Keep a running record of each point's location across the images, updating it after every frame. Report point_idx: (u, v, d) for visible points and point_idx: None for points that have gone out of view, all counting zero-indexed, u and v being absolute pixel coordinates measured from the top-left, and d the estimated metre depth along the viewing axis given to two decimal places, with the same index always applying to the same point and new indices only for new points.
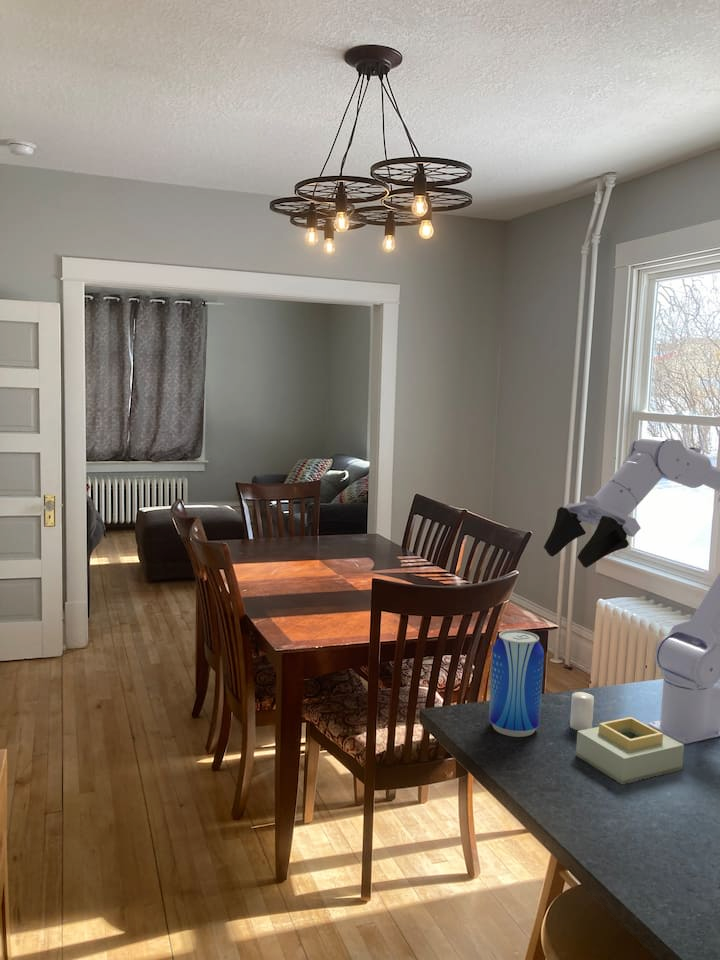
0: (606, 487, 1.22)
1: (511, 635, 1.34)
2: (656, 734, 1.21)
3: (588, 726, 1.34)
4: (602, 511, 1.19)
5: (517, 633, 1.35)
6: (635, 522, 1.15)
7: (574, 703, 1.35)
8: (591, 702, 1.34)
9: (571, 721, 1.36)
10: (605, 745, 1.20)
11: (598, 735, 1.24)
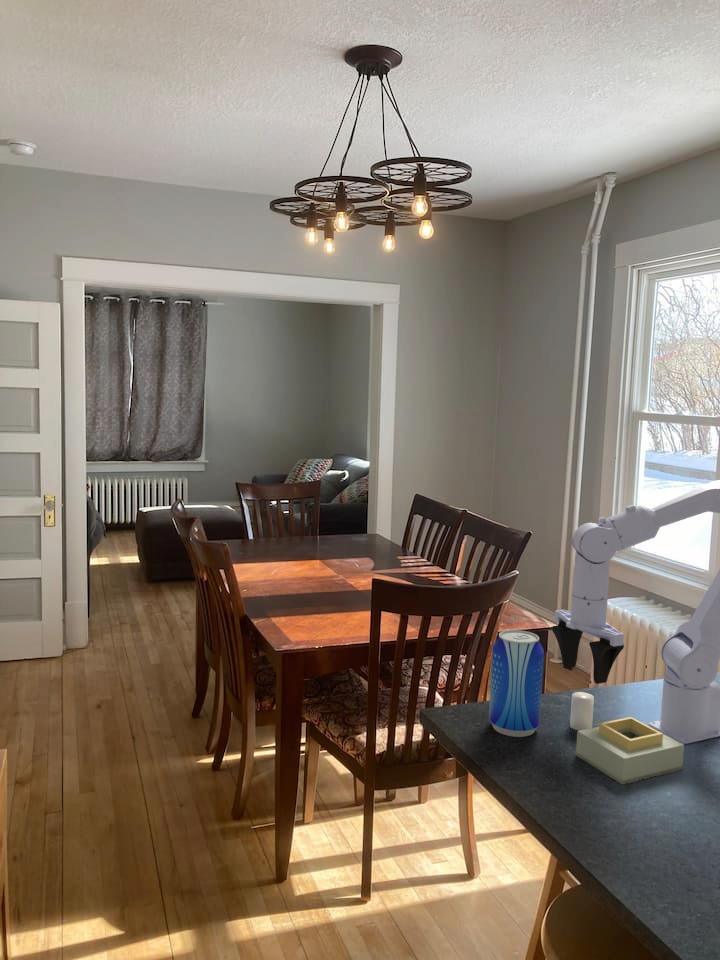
0: (575, 605, 1.32)
1: (511, 635, 1.34)
2: (656, 734, 1.21)
3: (588, 726, 1.34)
4: None
5: (517, 633, 1.35)
6: (617, 636, 1.27)
7: (574, 703, 1.35)
8: (591, 702, 1.34)
9: (571, 721, 1.36)
10: (605, 745, 1.20)
11: (598, 735, 1.24)
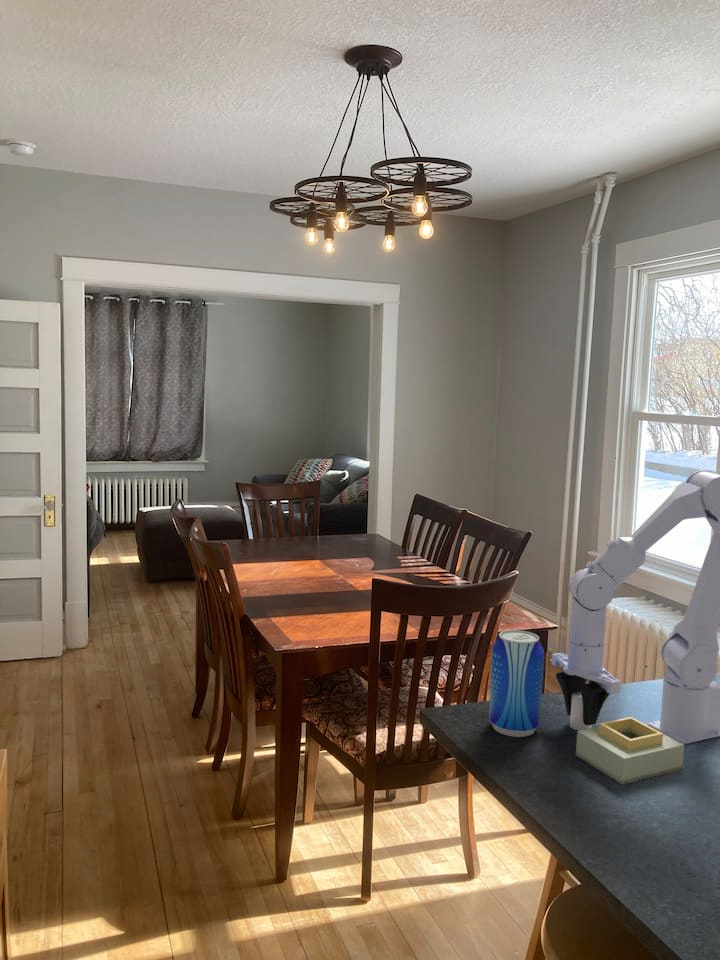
0: (572, 650, 1.33)
1: (511, 635, 1.34)
2: (656, 734, 1.21)
3: (588, 726, 1.34)
4: None
5: (517, 633, 1.35)
6: (613, 683, 1.28)
7: (574, 702, 1.35)
8: None
9: (571, 721, 1.36)
10: (605, 745, 1.20)
11: (598, 735, 1.24)
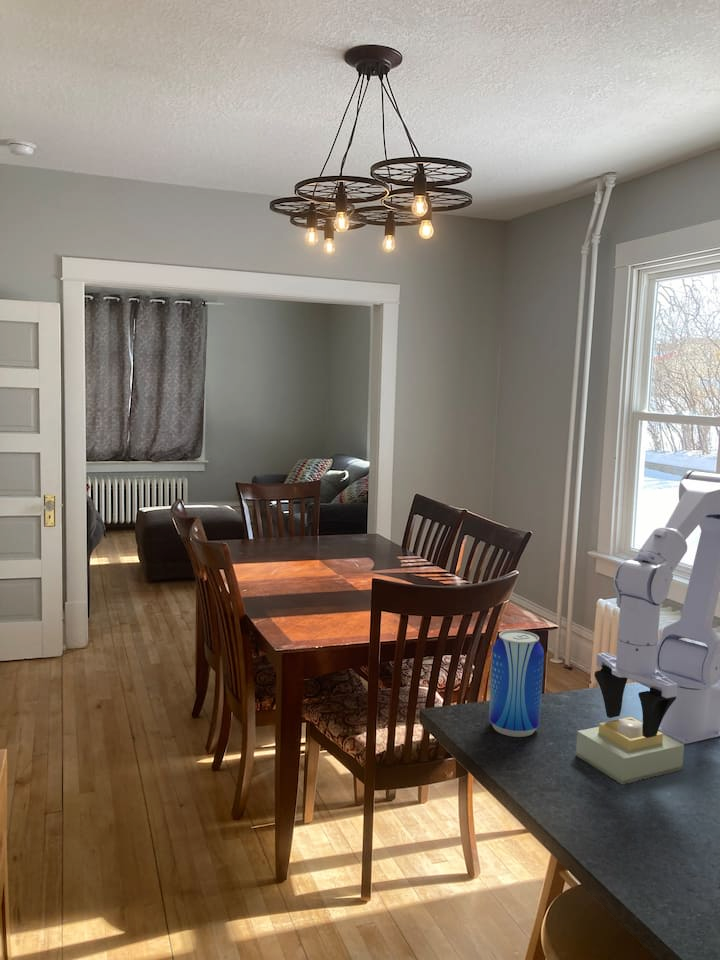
0: (622, 650, 1.20)
1: (511, 635, 1.34)
2: None
3: None
4: None
5: (517, 633, 1.35)
6: (670, 687, 1.15)
7: (621, 732, 1.22)
8: (640, 731, 1.22)
9: None
10: (605, 745, 1.20)
11: (598, 735, 1.24)
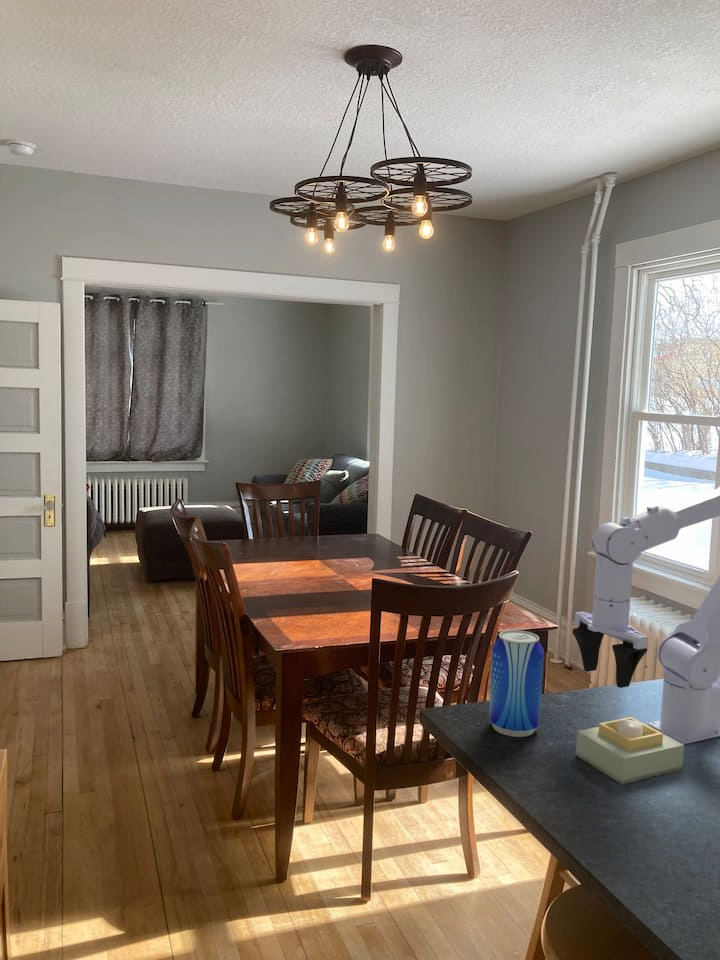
0: (597, 606, 1.29)
1: (511, 635, 1.34)
2: (656, 734, 1.21)
3: None
4: None
5: (517, 633, 1.35)
6: (641, 639, 1.24)
7: (622, 732, 1.22)
8: (641, 731, 1.22)
9: None
10: (605, 745, 1.20)
11: (598, 735, 1.24)
